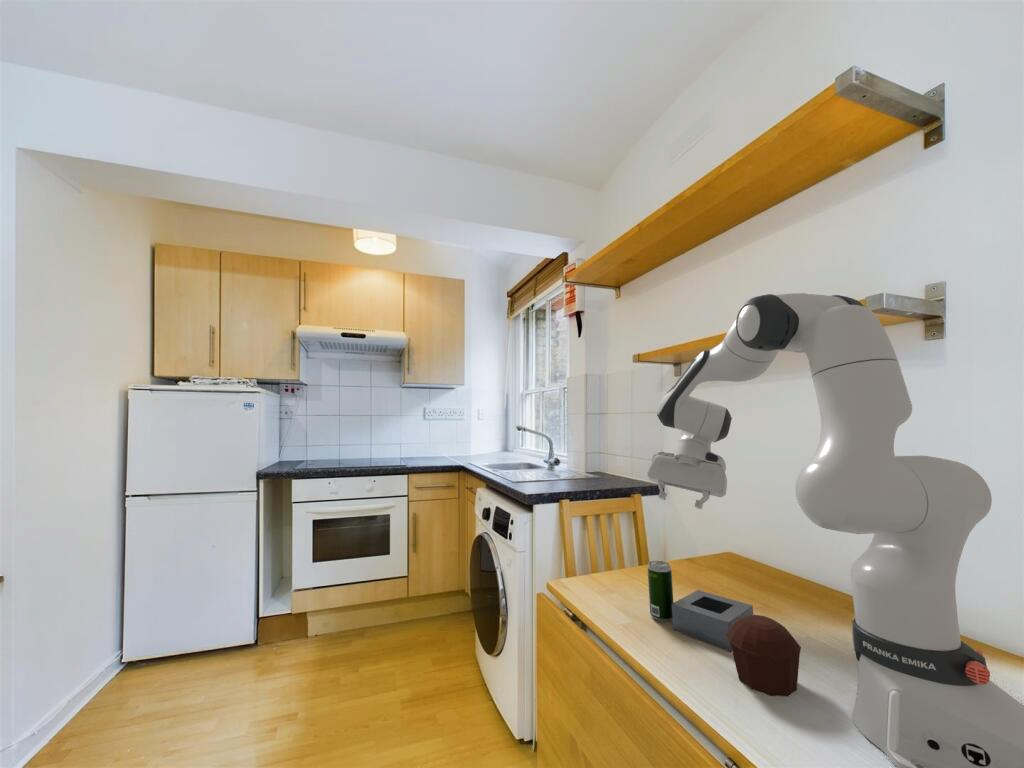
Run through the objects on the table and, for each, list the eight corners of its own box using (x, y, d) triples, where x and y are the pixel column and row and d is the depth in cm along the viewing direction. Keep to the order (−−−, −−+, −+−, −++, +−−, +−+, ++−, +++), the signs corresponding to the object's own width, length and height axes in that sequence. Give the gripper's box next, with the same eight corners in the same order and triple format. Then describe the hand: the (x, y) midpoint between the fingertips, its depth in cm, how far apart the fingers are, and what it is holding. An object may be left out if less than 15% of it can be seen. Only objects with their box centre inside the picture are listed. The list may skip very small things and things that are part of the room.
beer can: (668, 624, 93) (664, 569, 94) (646, 617, 97) (643, 564, 98) (678, 617, 96) (675, 563, 98) (657, 610, 100) (654, 559, 102)
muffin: (737, 655, 80) (733, 601, 81) (807, 676, 73) (801, 616, 74) (722, 685, 71) (718, 623, 72) (801, 712, 64) (794, 643, 65)
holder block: (754, 632, 88) (752, 605, 89) (730, 652, 81) (728, 622, 82) (699, 614, 98) (698, 589, 98) (673, 630, 90) (671, 603, 91)
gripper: (651, 445, 120) (638, 489, 115) (729, 459, 107) (718, 509, 102) (657, 455, 125) (644, 497, 119) (732, 469, 112) (722, 517, 106)
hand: (679, 503), depth 110 cm, fingers open, 8 cm apart
